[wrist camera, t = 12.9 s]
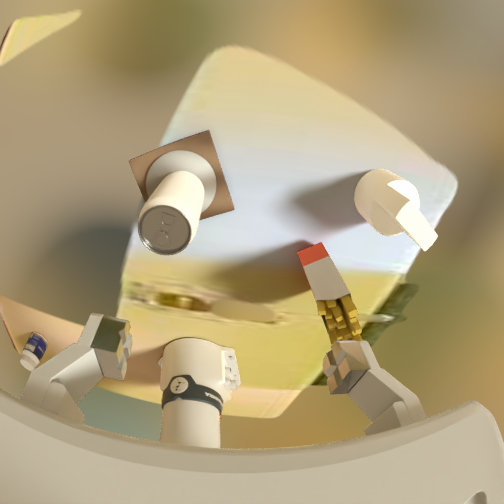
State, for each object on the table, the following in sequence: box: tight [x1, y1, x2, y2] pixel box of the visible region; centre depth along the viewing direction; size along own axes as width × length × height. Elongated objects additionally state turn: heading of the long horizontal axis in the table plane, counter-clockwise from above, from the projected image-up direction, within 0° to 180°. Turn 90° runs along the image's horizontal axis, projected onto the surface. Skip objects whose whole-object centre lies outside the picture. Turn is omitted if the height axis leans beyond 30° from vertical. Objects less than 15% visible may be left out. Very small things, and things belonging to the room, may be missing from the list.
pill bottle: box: [20, 332, 48, 371], centre depth 49 cm, size 6×6×10 cm
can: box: [138, 171, 204, 255], centre depth 31 cm, size 6×6×12 cm
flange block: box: [129, 130, 234, 220], centre depth 37 cm, size 12×12×2 cm
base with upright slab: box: [354, 168, 438, 251], centre depth 35 cm, size 9×9×12 cm
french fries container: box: [297, 242, 363, 345], centre depth 39 cm, size 5×11×18 cm, turn 23°
